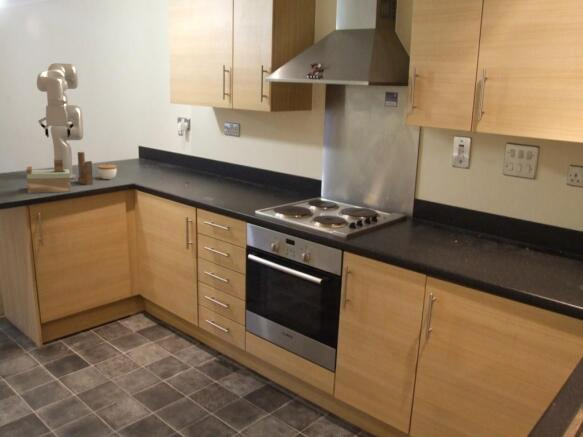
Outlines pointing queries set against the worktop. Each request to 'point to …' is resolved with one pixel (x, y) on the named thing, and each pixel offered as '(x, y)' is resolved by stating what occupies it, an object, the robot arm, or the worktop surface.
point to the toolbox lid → (46, 174)
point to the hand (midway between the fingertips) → (58, 137)
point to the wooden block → (84, 170)
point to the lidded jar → (107, 171)
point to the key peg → (58, 165)
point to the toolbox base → (48, 185)
